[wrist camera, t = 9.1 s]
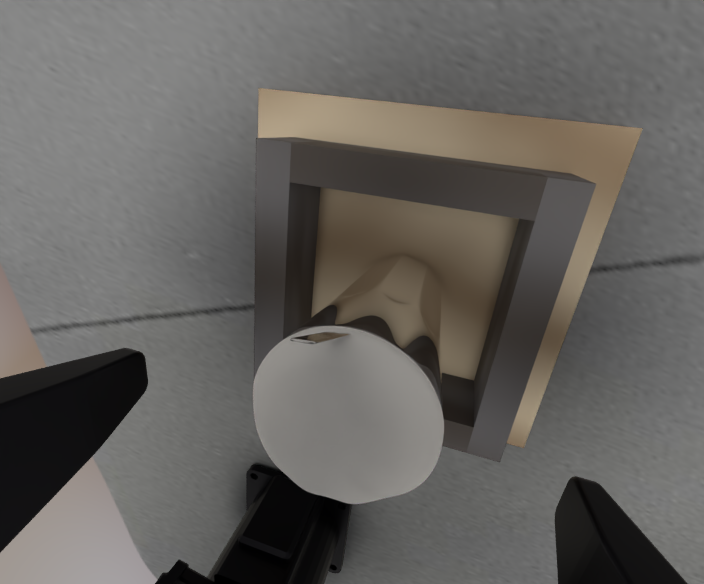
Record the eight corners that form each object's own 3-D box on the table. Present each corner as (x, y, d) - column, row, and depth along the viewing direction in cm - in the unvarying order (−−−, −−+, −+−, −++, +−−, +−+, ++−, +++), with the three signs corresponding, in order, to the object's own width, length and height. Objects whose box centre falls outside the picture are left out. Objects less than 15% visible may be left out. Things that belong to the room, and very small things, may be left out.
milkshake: (467, 221, 14) (452, 363, 6) (453, 348, 17) (424, 602, 8) (348, 214, 16) (180, 321, 7) (348, 334, 18) (219, 537, 9)
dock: (521, 432, 18) (532, 505, 15) (264, 363, 21) (221, 410, 17) (630, 128, 13) (689, 127, 9) (270, 90, 16) (211, 78, 12)
